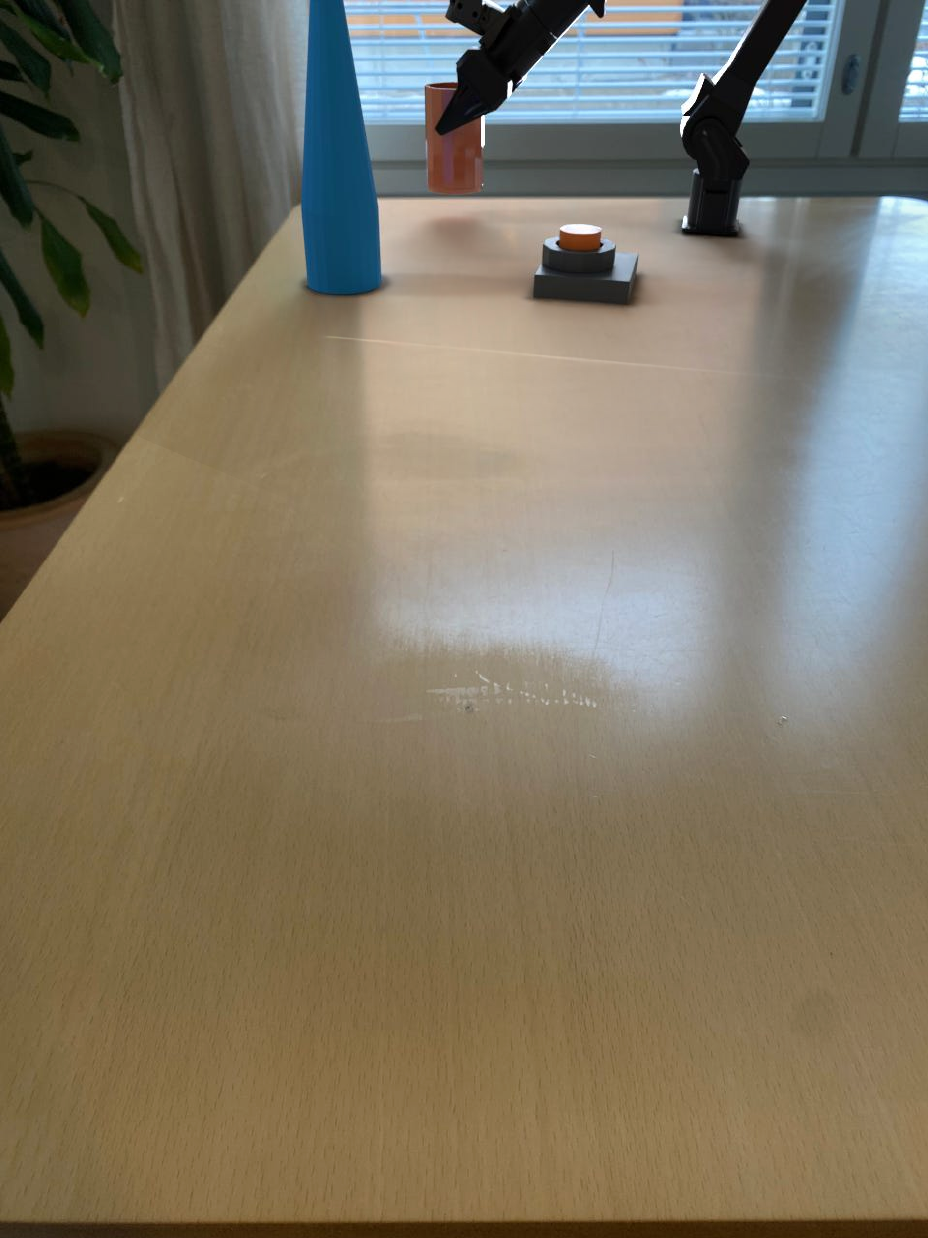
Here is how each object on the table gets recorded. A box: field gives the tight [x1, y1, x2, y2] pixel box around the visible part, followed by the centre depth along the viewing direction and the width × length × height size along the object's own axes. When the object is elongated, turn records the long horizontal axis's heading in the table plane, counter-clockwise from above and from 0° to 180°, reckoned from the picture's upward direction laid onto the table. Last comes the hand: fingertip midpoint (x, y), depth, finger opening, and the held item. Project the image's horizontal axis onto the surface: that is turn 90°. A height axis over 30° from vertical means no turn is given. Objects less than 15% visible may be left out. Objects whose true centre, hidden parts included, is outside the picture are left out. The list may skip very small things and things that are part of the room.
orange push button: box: [558, 223, 602, 250], centre depth 91 cm, size 4×4×2 cm
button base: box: [532, 235, 639, 306], centre depth 92 cm, size 10×9×4 cm
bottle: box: [300, 0, 383, 295], centre depth 85 cm, size 7×7×30 cm
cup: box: [424, 81, 485, 195], centre depth 112 cm, size 7×7×11 cm
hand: (443, 127), depth 111 cm, fingers closed on cup, 7 cm apart
